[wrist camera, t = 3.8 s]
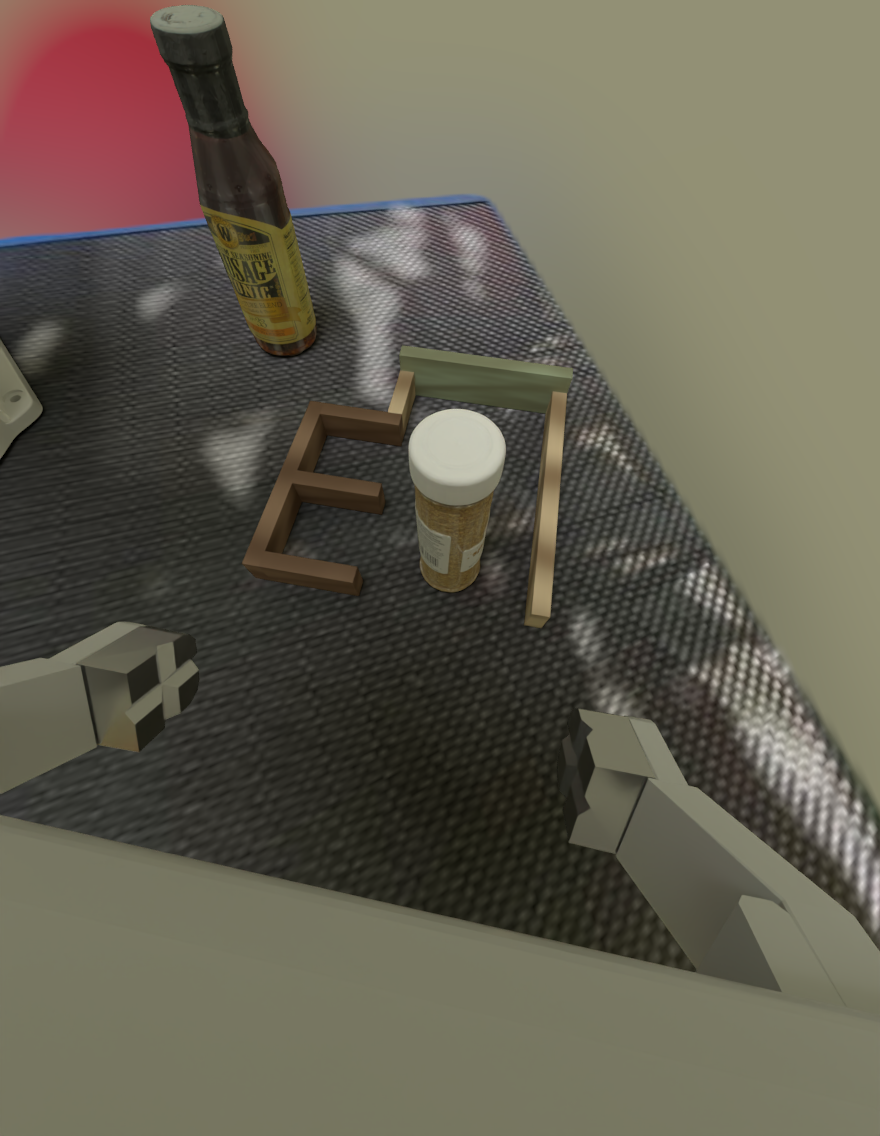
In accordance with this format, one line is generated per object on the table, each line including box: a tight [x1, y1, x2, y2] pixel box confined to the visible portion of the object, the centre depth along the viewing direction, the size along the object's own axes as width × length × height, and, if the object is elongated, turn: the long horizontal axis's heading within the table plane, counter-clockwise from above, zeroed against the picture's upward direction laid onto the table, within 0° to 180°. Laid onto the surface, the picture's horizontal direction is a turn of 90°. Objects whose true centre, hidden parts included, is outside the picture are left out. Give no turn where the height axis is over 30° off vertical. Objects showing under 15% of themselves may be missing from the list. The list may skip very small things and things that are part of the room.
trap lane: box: [242, 346, 573, 628], centre depth 32 cm, size 21×21×4 cm
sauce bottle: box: [150, 5, 316, 356], centre depth 32 cm, size 7×6×20 cm
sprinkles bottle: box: [409, 409, 506, 592], centre depth 25 cm, size 5×5×13 cm
